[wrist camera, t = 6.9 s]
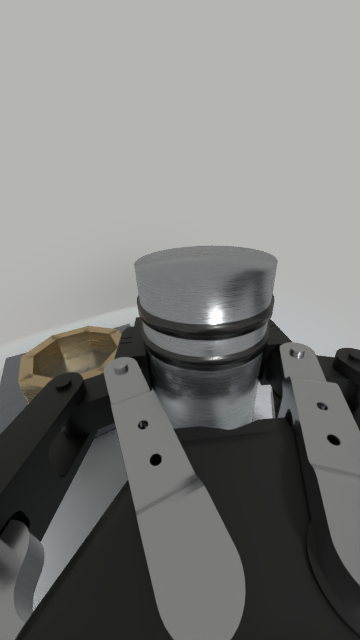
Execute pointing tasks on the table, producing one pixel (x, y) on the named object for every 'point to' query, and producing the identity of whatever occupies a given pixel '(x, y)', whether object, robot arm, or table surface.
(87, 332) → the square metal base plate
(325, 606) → the robot arm
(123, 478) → the table surface
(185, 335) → the piston
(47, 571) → the table surface
